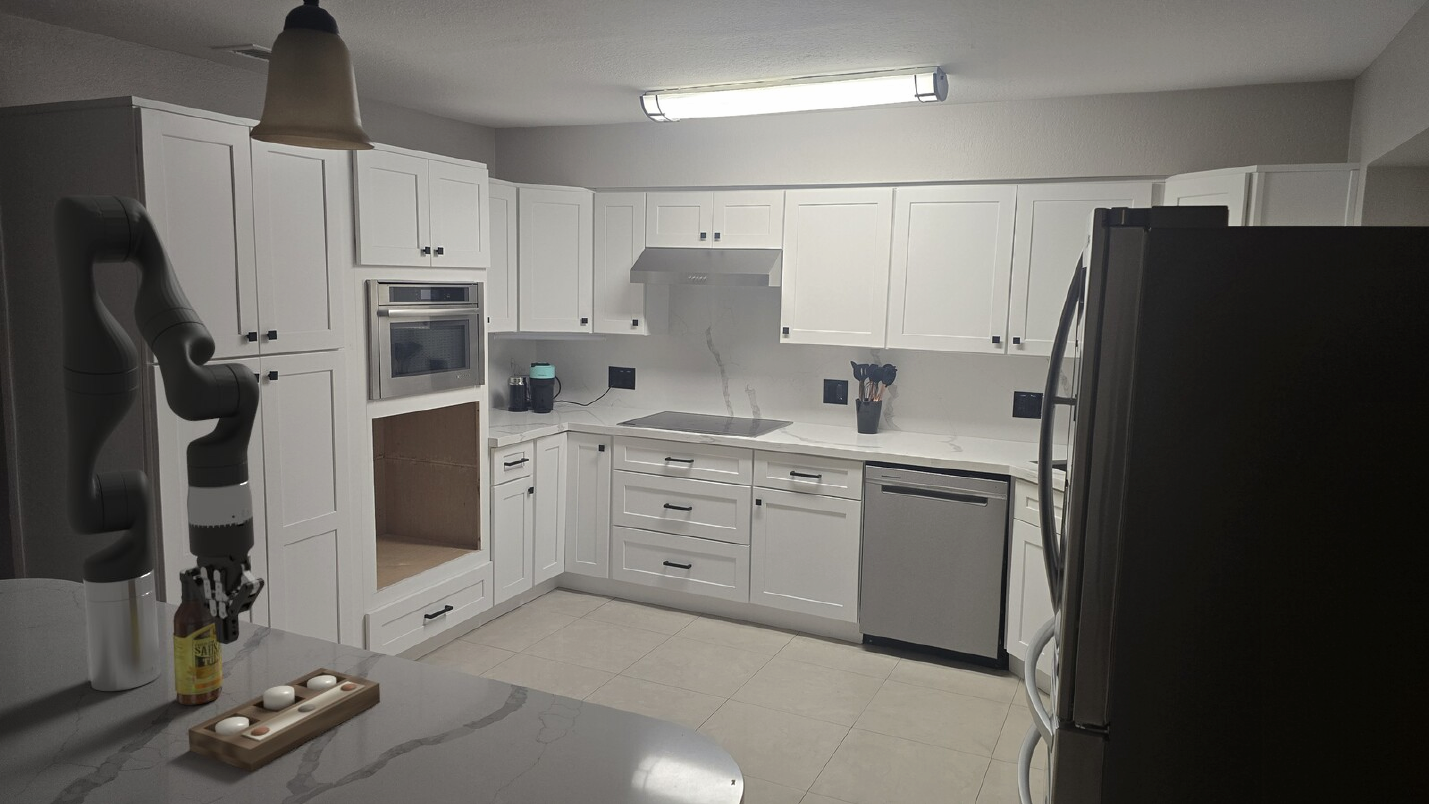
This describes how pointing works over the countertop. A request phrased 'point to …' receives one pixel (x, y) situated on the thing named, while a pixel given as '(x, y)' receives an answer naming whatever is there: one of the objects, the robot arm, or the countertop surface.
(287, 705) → the button
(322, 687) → the button
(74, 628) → the countertop surface
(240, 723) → the button
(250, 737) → the button panel
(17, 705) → the countertop surface
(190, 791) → the countertop surface
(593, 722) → the countertop surface
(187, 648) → the sauce bottle
